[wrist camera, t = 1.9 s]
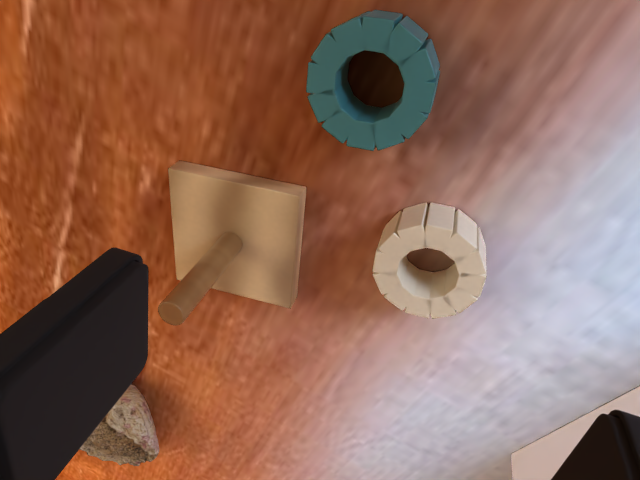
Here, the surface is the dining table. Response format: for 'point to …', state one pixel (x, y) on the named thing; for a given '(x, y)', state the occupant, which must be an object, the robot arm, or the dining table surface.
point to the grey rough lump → (125, 432)
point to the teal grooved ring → (335, 92)
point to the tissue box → (564, 441)
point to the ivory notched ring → (423, 286)
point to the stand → (232, 237)
